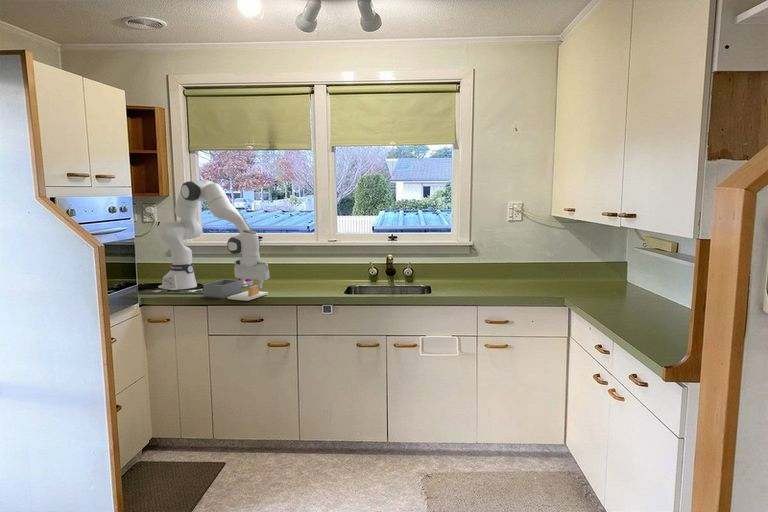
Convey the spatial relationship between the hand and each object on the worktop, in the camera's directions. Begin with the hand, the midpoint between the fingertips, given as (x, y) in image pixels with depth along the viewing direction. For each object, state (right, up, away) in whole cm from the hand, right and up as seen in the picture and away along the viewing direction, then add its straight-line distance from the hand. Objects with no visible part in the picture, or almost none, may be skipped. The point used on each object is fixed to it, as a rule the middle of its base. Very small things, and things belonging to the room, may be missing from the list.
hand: (252, 287), depth 260 cm
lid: (-3, -5, +2) cm, 6 cm away
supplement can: (-13, -1, +35) cm, 37 cm away
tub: (-18, -5, +9) cm, 21 cm away
